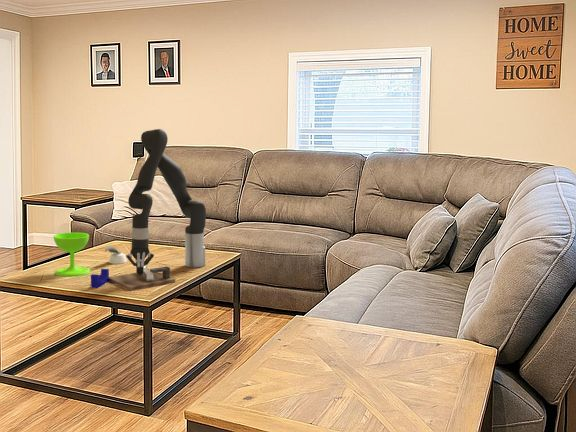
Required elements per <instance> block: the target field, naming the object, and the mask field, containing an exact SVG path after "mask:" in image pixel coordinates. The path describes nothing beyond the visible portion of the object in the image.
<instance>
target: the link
mask: <svg viewBox="0 0 576 432" xmlns="http://www.w3.org/2000/svg"><path fill="white" fill-rule="evenodd" d="M142 276H143V277H144V279H145V280H146V281H153V273H152V272H150V269H149V268H148V265H145V266H144V267H143V274H142Z"/></svg>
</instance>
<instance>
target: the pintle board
mask: <svg viewBox="0 0 576 432" xmlns="http://www.w3.org/2000/svg"><path fill="white" fill-rule="evenodd" d="M149 270H150V272H152V273H153V281H146V280H145V279H144V277H143V276H142V275H138V274H137V272H132V273H127V274H120V275H114V276H113V275H112V276H109V282H111V283H112V284H115V285H117V286H119V287H120V288H123V289H125V290H127V291H135V290H141V289H146V288H151V287H157V286H162V285H163V286H164V285H167V284H175V283H176V278H174V277H171V267H169V266H161V267H156V268H155V267H154V268H150V269H149ZM161 272H162V273H161Z"/></svg>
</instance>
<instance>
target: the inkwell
mask: <svg viewBox="0 0 576 432" xmlns="http://www.w3.org/2000/svg"><path fill="white" fill-rule="evenodd" d="M104 252H110V253H111V254H110V255H109V259H108V263H109V264H112V265H120V264H121V265H122V264H126V263H127V262H128V259H127V257H126V254H125V252H124V253H123V251H118V249H116V248H115V247H113V246H111V245H110V246H109V245H108V246H107V247H106V248H105V250H104Z"/></svg>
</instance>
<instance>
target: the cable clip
mask: <svg viewBox="0 0 576 432" xmlns="http://www.w3.org/2000/svg"><path fill="white" fill-rule="evenodd" d="M109 277H110V269H109V268H101V269H100V274H95V273H94V274H93V273H92V274H90V288H91V289H99V288H101V287H102V286H104V285H105V283H106V284H107V283H109V282H110V281H109Z"/></svg>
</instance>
